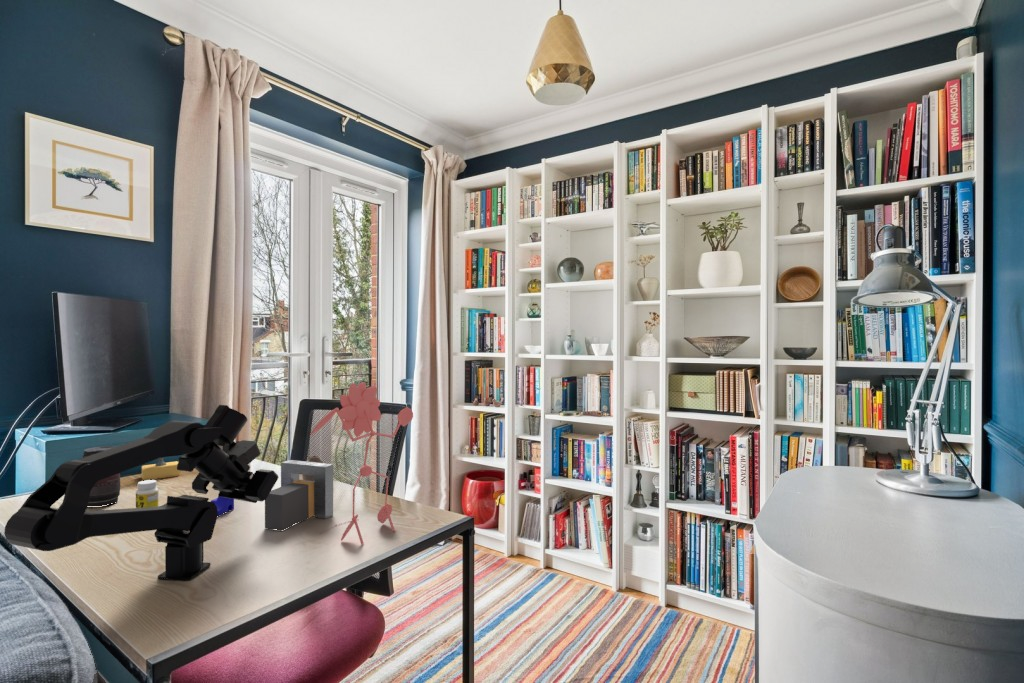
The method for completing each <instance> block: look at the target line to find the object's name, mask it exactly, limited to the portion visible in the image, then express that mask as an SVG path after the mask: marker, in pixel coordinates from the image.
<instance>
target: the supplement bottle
mask: <svg viewBox="0 0 1024 683" xmlns="http://www.w3.org/2000/svg"><path fill="white" fill-rule="evenodd" d="M157 484H158V483H157V479H152V480H144V481H143V480H141V481H138V482H137V484H136V485H137V486H136V487H137V490H136V491H135V508H144V507H159V505H160V504H159V502H160V501H159V500H160V499H159V488H158V485H157Z"/></svg>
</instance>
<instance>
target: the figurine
mask: <svg viewBox="0 0 1024 683" xmlns="http://www.w3.org/2000/svg"><path fill="white" fill-rule="evenodd" d="M366 384H367V383H366V382H364V381H362V382H360V383H359V384H358V385H356V383H350V385H349V387H348V393H347V394H348V395H346V394H341V396H339V401H340V405H341V407H342V408H341V409H339V407H335V408H334V409H332V410H330V411H329V412H328V413H327V414H326V415H325V416H323V418H321V419H320V420H319V422H318V423H317V424H316V425H315V426H314V428H313V430H312V431H311V432H310V436H312V435H313V434H315V433H316V432H318V431H319V430H321V429H322V428H323V427H324V426H325V425H326V424H328V422H329V421H330V420H331V419H332V418H333V417H334V415H335V414H337V415H338V418H339V420H340V421H341V422H342V425H341V428H342V430H343V431H346V433H347V435H348V436H349V438H350V440H351V442H352V443H353V442H355V441H358V440H361V439H364V438H366V437H368V439H367V440H366V442H365V444H366V445H365V452H364V459H363V460H364V461H363V464H362V466H361V467H360V468H359V475H358V478H357V479H356V482H355V484H354V486H353V488H352V517H351V520H350V521H348V523H349V524H348V525H347V527H346V529H345V530H344V532H343V533H342V536H341V539H340V541H341V542H343V540H344V538H345V537H346V536H347V535H348V533H349V532H350V530H351V529H352V528H353V526H354V525H355V528H356V532H357V535H358V538H359V542H360V545H364V543H365V542H364V540H363V537H362V534H361V529H360V528H359V525H358V524H359V523H358V518H359V514H358V513H356V514H355V495H356V493H355V489H356V488H357V485H358V483H359V481H360V479H361V476H362V477H364V478H365V477H366V478H367V477H369V476H371V475H372V474H374V475H377V476H380V477H383V478H386V486H385V487H386V490H385V501H384V505H383V506H382V507H381V508H380V510H379V511H378V513H377V516H376V517H377V521H378V523H381V524H384V523H385V522H386V521H387V519H388V522H389V525H390V528H391V530H392V532H395V531H396V530H395V526H394V524H393V521H392V518H391V514H392V512H393V507H392V504H391V503H388V492H389V490H388V489H389V481H390V480H389V476H387V475H384V474H381V473H378V472H376V471H373V469H372V467H371V466H370V465H369V464H367V458H368V451H369V446H370V445H369V444H370V441H371V440H372V437H374V436H378V437H379V436H380V437H385V438H391V439H394V438H395V436H396V435H397V433H398V430H399V429H400V427H401V426H402V427H406V426H407V425H408V424H410V423H411V422H412V420H413V418H414V412H413V410H412V409H411V408H409V406H405V407H404V408H403V409H401V410H400V411H399V413H398V414H397V417H396V418H397V421H398V424H397V426H396V428H395V430H394V432H393V433H392V435H391V434H386V433H380V432H375V431H374V429H373V421H375V422H379V421H380V420H382V414H381V410H380V409H379V408H380V405H381V401H380V400H379V399H378V398H377V397H376V396H377V394H378V393H377V392H378V387H376V386H372V385H371V386H369V387H367V385H366ZM352 429H353V434H354V436H355V438H354V437H353V435H352V434H351V432H350V430H352ZM363 433H366V434H363ZM362 434H363V435H362ZM346 522H347V521H346ZM346 522H344V524H346ZM410 522H411V523H412V524H415V522H414V521H410ZM340 524H341V523H339V524H335V527H337V525H338V526H340Z"/></svg>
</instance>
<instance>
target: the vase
mask: <svg viewBox="0 0 1024 683" xmlns="http://www.w3.org/2000/svg"><path fill="white" fill-rule="evenodd" d="M307 462H316V463H324V462H323V461H322V460H321V458H320V456H319V455H311V456H310V457H309V459H308V460H307ZM301 476H302V480H308V481H315V476H311V475H302V474H301Z"/></svg>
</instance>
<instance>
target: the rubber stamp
mask: <svg viewBox="0 0 1024 683" xmlns="http://www.w3.org/2000/svg"><path fill="white" fill-rule="evenodd" d="M178 462H179V460H178V461H177V460H176V461H169V462H165V461H164V457H163V458H158V459H157V463H154V464H153V463H152V464H143V465H141V480H142V479H143V480H144V481H145V480H150V479H152V480H157V479H158V478H159V479H164V478H165V479H166V478H173V477H179V476H181V471H180V470H177V464H178ZM143 480H142V481H143Z"/></svg>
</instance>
